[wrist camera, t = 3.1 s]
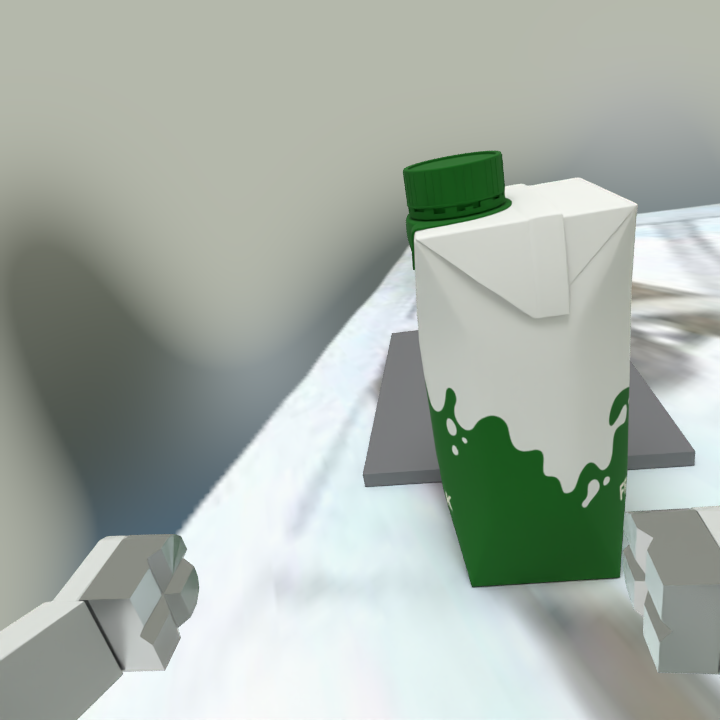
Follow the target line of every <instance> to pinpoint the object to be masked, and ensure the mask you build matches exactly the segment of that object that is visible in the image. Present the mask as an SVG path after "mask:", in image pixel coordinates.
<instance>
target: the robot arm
mask: <svg viewBox="0 0 720 720" xmlns="http://www.w3.org/2000/svg"><path fill="white" fill-rule="evenodd" d="M623 531H624V533H625V536H626V538H627V541H628V543H629V545H628V546H627V547H626V548H625V549H624V550H623V569H624V576H625V582H626V586H627V590H628V594H629V597H630V600H631V603H632V605H633V608H634V610H635V611H636V612H638V613H639V614H640V615H641V616H643V617H644V624H643V635H644V637H645V640H646V643H647V645H648V648H649V650H650V653H651V655H652V658H653V661H654V663H655V666H656V668H657V671H658V673H687V674H720V506H709V507H694V508H691V509H689V508H686V509H668V510H651V511H633V512H626V513H625V516H624V527H623ZM186 550H187V548H186V546H185V544H184V542H183V540H182V537H181V536H178V535H175V534H163V535H130V536H107V537H106V538H104V539H102V540H100V541H99V542H98V543H97V545H96V546H95V547H94V549H93V550H92V551H91V552H90V554H89V555H88V556H87V558H86V559H85V560H84V561H83V563H82V564H81V565H80V567H79V568H78V569H77V571H76V572H75V573H74V574H73V576H72V577H71V578H70V579H69V581H68V582H67V583H66V585H65V586H64V587H63V589H62V590H61V591H60V592H59V594H58V595H57V596H56V597H55V599H54V600H53V601H52V602H44V603H43V604H41V605H40V606H39V607H37V608H35V609H34V610H32V611H31V612H29V613H28V614H26V615H25V616H23V617H22V618H20V619H19V620H17V621H15V622H14V623H12V624H11V625H9V626H8V627H6V628H5V629H4V630H2V631H0V720H77V719H78V718H79V717H80V716H81V715H82V714H83V713H84V712H85V711H86V710H87V709H88V708H89V707H90V706H91V705H93V704H94V703H95V702H96V701H97V700H98V699H99V698H100V697H101V696H102V695H103V694H104V693H105V692H106V691H107V690H108V689H109V688H110V687H111V686H112V685H113V684H114V683H115V682H116V681H117V680H118V679H119V678H120V677H121V676H122V675H123V673H122V672H130V671H165V669H166V667H167V665H168V663H169V661H170V659H171V657H172V655H173V653H174V651H175V649H176V647H177V645H178V642H179V640H180V638H181V637H180V633H179V629H178V627H180V626H181V625H182V624H183V623H184V622H185V621H187V620H188V619H189V618H190V617H191V615H192V613H193V611H194V609H195V606H196V604H197V599H198V592H199V582H198V576H197V573H196V570H195V568H194V566H193V565H191V564H190V563H189V562H188V561H186V560H185V559H184V555H185V553H186Z"/></svg>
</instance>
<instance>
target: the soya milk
mask: <svg viewBox="0 0 720 720" xmlns="http://www.w3.org/2000/svg"><path fill="white" fill-rule="evenodd" d="M403 175H404V183H405V190H406V198H407V206H408V208H409V214H408V216H407V219H406V229H407V236H408V241H409V244H410V248H411V251H412V261H413V270H415V279H416V303H417V319H418V332H419V344H420V351H421V357H422V364H423V371H424V377H425V384H426V391H427V397H428V404H429V410H430V417H431V423H432V430H433V436H434V443H435V450H436V455H437V460H438V464H439V469H440V475H441V480H442V484H443V489H444V493H445V496H446V500H447V503H448V507H449V510H450V514H451V517H452V521H453V524H454V527H455V531H456V534H457V537H458V541H459V544H460V548H461V551H462V554H463V558H464V561H465V564H466V568H467V571H468V575H469V578H470V582H471V585H472V587H475V586H491V585H507V584H523V583H538V582H554V581H570V580H586V579H601V578H617V577H620V567H621V553H622V539H623V526H624V512H625V498H626V483H627V466H628V426H629V381H630V336H631V291H632V271H633V257H634V243H635V229H636V216H637V206H638V205H637V204H636V203H634V202H632V201H630V200H628V199H625V198H623V197H621V196H619V195H617V194H614V193H612V192H610V191H608V190H606V189H603V188H601V187H599V186H597V185H595V184H592V183H590V182H588V181H586V180H584V179H581V178H573V179H566V180H561V181H555V182H549V183H543V184H538V185H532V186H526V185H524V184H517V185H510V186H505V184H504V172H503V160H502V154H501V152H500V151H481V152H473V153H465V154H458V155H453V156H447V157H442V158H437V159H433V160H428V161H424V162H420V163H417V164H414V165H411V166H408V167H406V168H404V170H403Z"/></svg>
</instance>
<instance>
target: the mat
mask: <svg viewBox="0 0 720 720" xmlns="http://www.w3.org/2000/svg"><path fill="white" fill-rule="evenodd" d="M694 461H695V450H694V449H693V448H692V446H691V445H690V443H689V442H688V441H687V439H686V438H685V436H684V435H683V434H682V432H681V431H680V429H679V428H678V427H677V425H676V424H675V422H674V421H673V420H672V418H671V417H670V415H669V414H668V413H667V411H666V410H665V408H664V407H663V406H662V404H661V403H660V401H659V400H658V399H657V397H656V396H655V394H654V393H653V392H652V390H651V389H650V387H649V386H648V385H647V383H646V382H645V380H644V379H643V378H642V376H641V375H640V373H639V372H638V371H637V369H636V368H635V366H634V365H633V364H632V362H631V361H630V381H629V426H628V466H627V470H630V469H645V468H661V467H676V466H691V465H694ZM363 478H364V482H365V487H368V486H384V485H399V484H414V483H430V482H442V480H441V475H440V469H439V464H438V460H437V455H436V450H435V443H434V436H433V430H432V423H431V417H430V410H429V404H428V397H427V391H426V384H425V377H424V371H423V364H422V357H421V351H420V344H419V332H418V330H416V331H408V332H400V333H392V336H391V340H390V345H389V350H388V355H387V360H386V365H385V370H384V374H383V379H382V384H381V389H380V394H379V399H378V403H377V408H376V413H375V418H374V423H373V428H372V432H371V437H370V442H369V447H368V452H367V457H366V462H365V466H364V471H363Z"/></svg>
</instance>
